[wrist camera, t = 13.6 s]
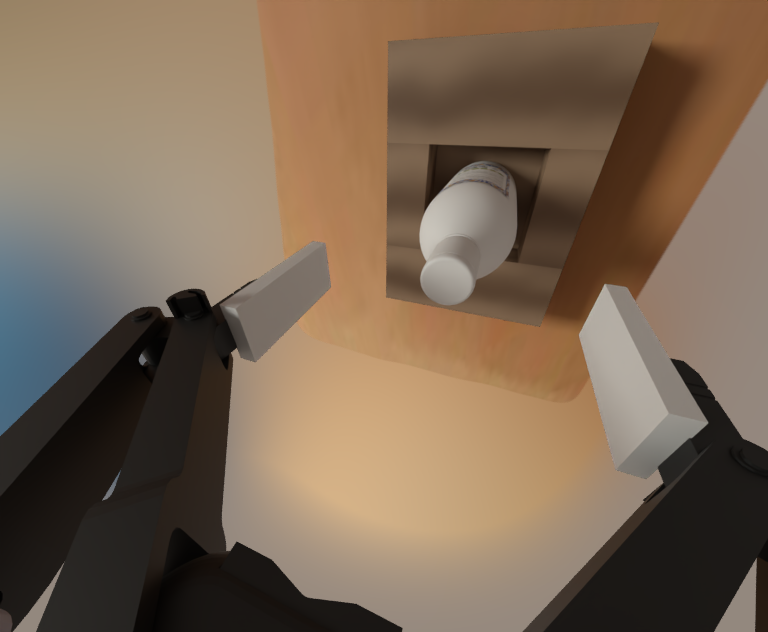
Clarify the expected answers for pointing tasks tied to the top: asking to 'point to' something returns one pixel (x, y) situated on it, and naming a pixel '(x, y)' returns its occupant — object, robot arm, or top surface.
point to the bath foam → (467, 231)
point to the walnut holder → (505, 145)
